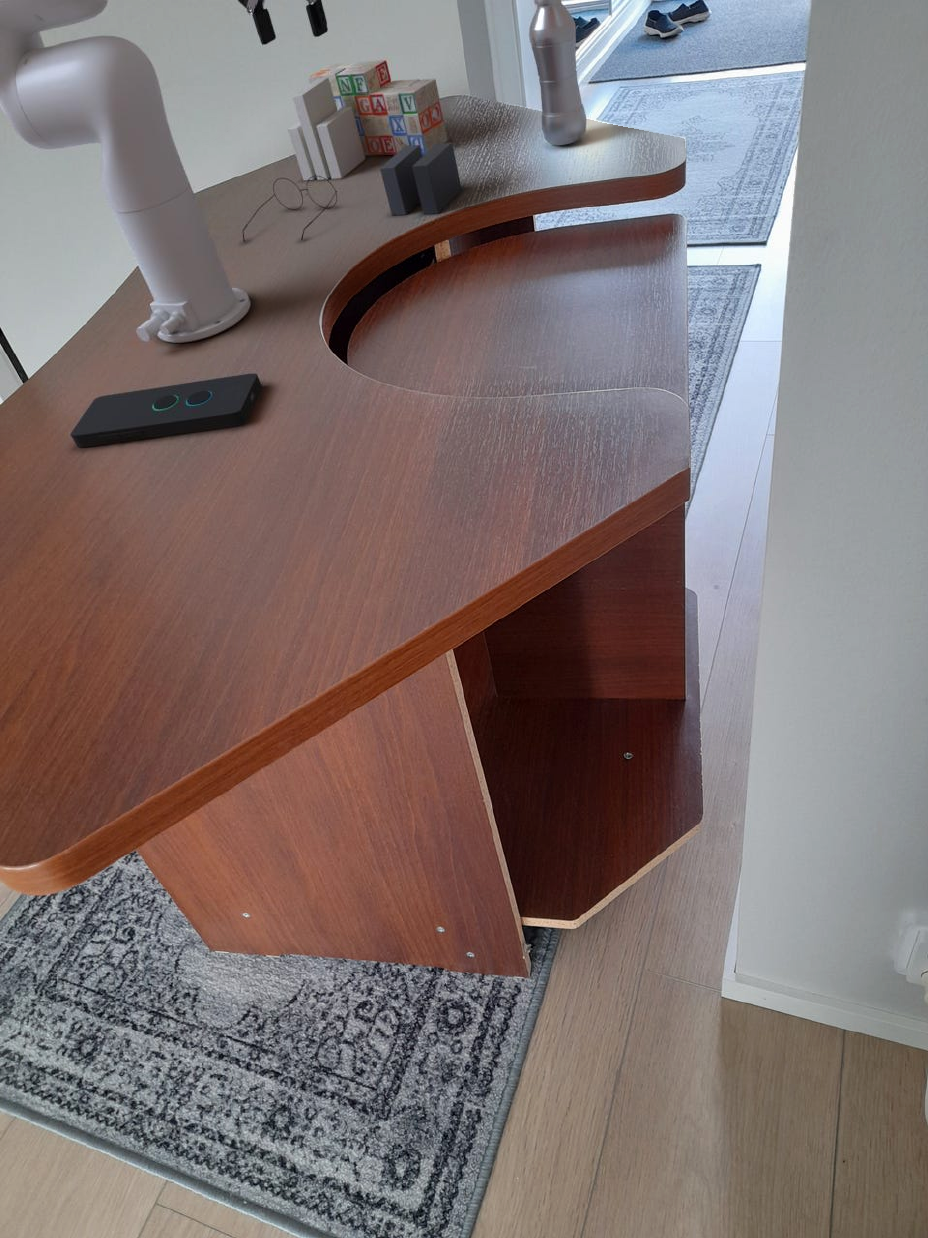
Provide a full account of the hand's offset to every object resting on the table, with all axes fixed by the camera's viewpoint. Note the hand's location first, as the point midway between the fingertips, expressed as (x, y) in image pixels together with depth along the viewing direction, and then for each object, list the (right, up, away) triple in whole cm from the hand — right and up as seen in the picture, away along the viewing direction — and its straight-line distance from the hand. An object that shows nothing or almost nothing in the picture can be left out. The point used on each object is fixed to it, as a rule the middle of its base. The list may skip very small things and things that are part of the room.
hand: (294, 37), depth 135 cm
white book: (+4, -13, +13) cm, 19 cm away
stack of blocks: (+13, -9, +16) cm, 22 cm away
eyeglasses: (0, -29, -1) cm, 29 cm away
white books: (+4, -13, +13) cm, 19 cm away
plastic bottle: (+41, -16, 0) cm, 44 cm away
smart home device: (-7, -65, -36) cm, 75 cm away
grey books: (+20, -28, -6) cm, 35 cm away
